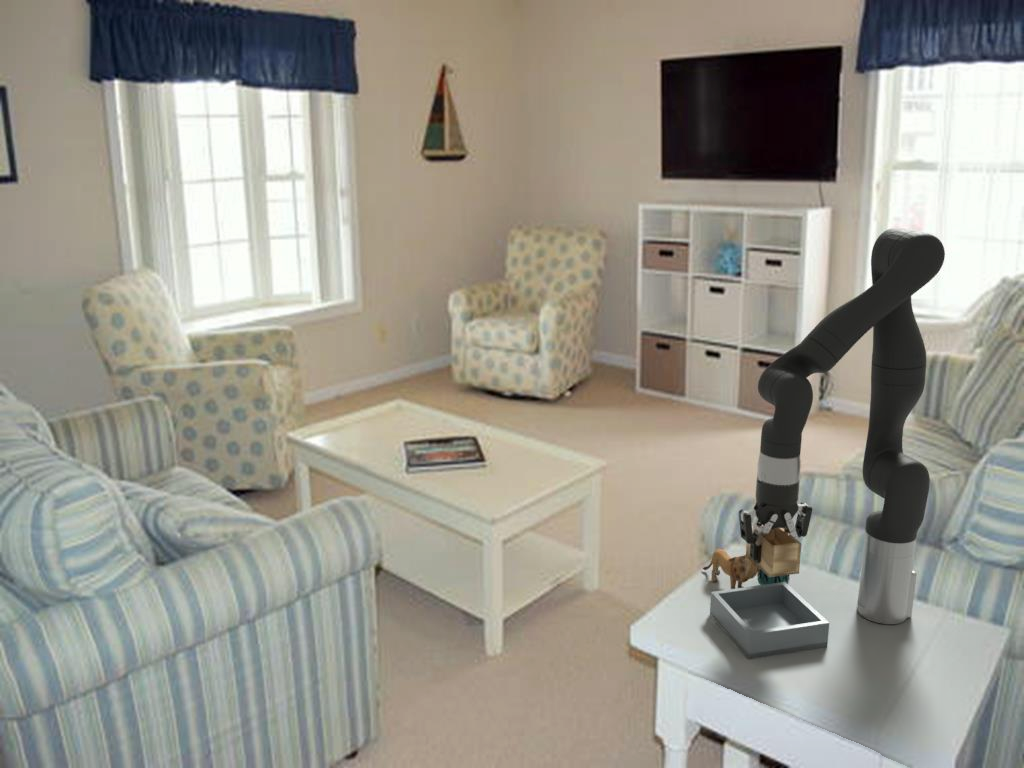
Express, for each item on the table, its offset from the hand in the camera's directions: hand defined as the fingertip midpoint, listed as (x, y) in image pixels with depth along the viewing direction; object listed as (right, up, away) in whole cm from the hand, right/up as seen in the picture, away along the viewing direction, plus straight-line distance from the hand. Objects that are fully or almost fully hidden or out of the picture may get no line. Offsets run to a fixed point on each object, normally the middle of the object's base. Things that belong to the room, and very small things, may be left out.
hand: (772, 558), depth 171 cm
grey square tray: (0, -14, +4) cm, 15 cm away
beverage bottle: (+6, -10, +19) cm, 23 cm away
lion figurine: (-3, -10, +21) cm, 24 cm away
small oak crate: (0, -1, 0) cm, 1 cm away
